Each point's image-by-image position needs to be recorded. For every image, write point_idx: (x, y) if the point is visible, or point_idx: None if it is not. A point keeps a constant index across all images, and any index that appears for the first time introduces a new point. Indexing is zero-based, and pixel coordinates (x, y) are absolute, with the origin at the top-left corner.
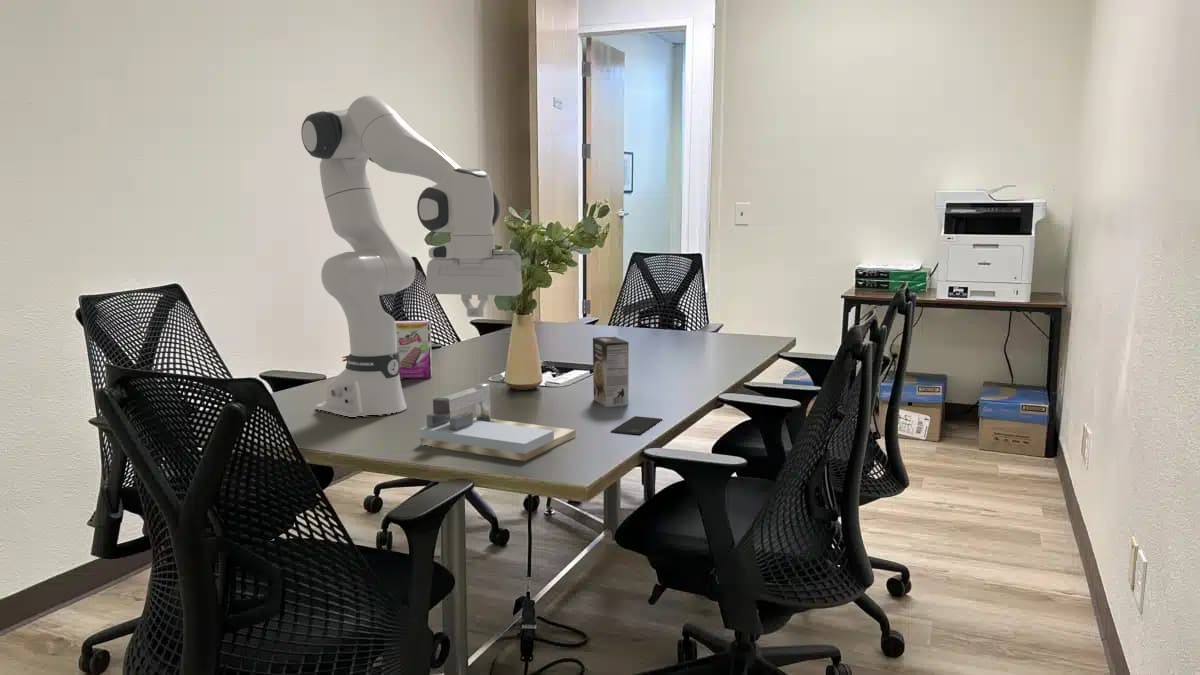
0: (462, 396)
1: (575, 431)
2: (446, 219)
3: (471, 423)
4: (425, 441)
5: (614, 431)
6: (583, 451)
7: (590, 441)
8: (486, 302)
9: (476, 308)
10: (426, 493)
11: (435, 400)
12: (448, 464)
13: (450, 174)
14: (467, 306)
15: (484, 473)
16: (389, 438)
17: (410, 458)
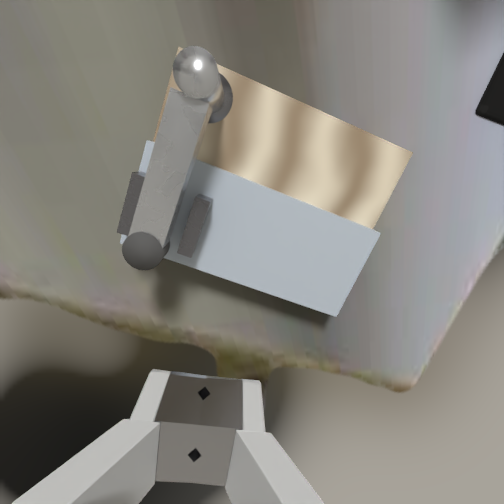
0: (178, 200)
1: (411, 152)
2: None
3: (211, 203)
4: None
5: (485, 114)
6: (416, 245)
7: (431, 183)
8: (310, 488)
9: (217, 476)
10: None
11: (132, 262)
12: (217, 326)
13: None
14: (129, 501)
15: (279, 356)
16: (50, 195)
17: (148, 305)
